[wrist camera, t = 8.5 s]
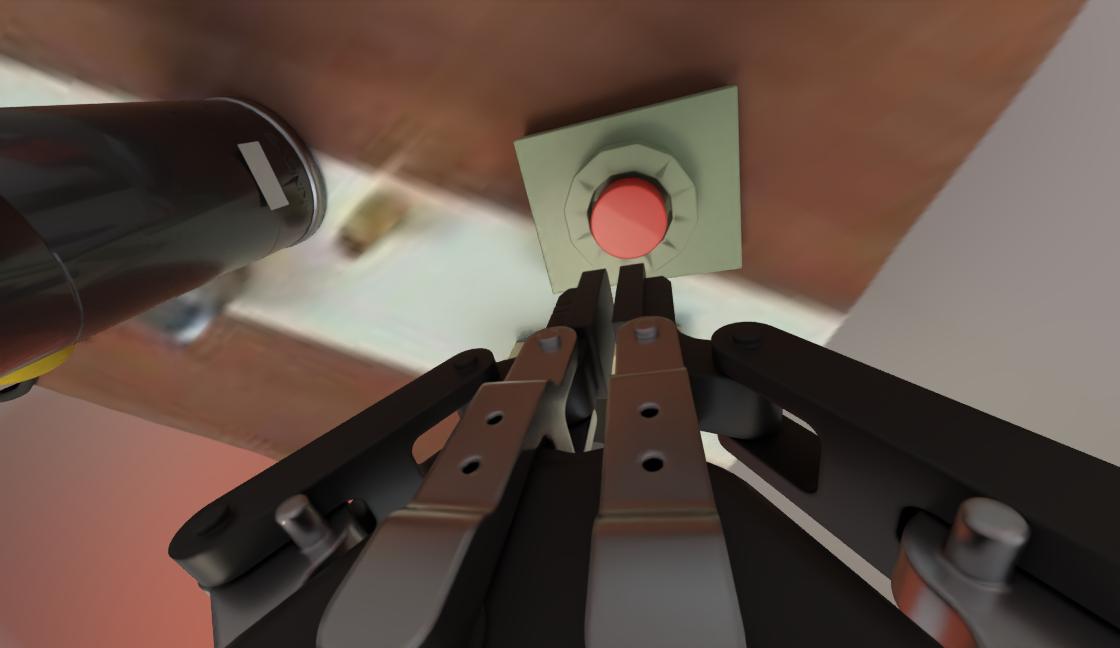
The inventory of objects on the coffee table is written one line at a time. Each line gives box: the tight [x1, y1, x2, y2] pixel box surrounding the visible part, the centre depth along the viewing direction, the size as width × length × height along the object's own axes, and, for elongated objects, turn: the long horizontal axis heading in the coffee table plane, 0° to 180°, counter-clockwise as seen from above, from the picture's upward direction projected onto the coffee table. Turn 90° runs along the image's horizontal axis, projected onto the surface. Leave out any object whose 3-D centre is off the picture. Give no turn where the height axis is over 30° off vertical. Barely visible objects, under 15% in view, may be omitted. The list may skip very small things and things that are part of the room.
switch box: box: [513, 85, 742, 293], centre depth 22 cm, size 11×9×4 cm
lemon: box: [0, 344, 75, 385], centre depth 36 cm, size 6×6×8 cm
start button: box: [591, 177, 667, 259], centre depth 20 cm, size 4×4×2 cm
